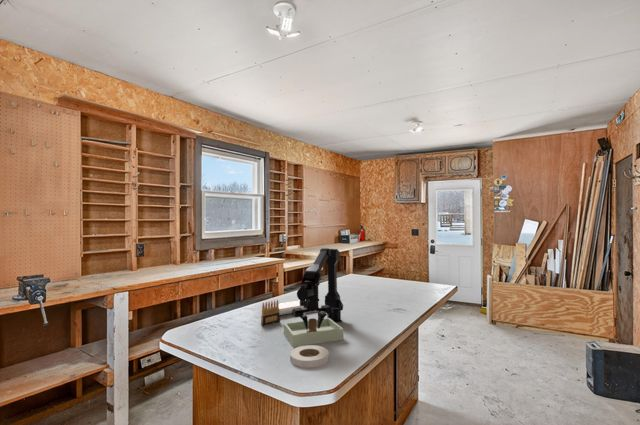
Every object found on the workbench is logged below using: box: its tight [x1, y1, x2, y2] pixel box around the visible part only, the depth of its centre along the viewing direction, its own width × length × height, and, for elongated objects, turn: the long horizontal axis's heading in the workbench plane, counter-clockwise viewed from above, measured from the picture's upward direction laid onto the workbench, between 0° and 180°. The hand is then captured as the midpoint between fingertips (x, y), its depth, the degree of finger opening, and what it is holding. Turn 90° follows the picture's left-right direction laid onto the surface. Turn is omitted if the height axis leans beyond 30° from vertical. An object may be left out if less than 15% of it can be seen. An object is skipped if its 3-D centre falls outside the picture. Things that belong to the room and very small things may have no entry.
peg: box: [308, 317, 317, 332], centre depth 152 cm, size 4×4×8 cm
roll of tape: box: [289, 344, 330, 369], centre depth 127 cm, size 16×15×3 cm
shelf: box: [267, 299, 307, 316], centre depth 192 cm, size 12×30×5 cm, turn 123°
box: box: [283, 317, 344, 348], centre depth 152 cm, size 24×18×5 cm
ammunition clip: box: [260, 299, 281, 327], centre depth 172 cm, size 11×2×12 cm, turn 131°
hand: (312, 329), depth 152 cm, fingers open, 6 cm apart
